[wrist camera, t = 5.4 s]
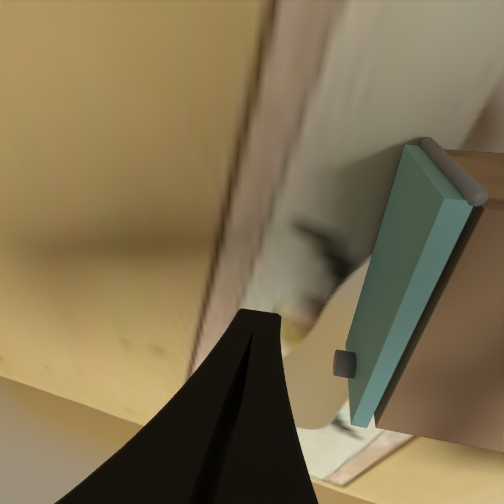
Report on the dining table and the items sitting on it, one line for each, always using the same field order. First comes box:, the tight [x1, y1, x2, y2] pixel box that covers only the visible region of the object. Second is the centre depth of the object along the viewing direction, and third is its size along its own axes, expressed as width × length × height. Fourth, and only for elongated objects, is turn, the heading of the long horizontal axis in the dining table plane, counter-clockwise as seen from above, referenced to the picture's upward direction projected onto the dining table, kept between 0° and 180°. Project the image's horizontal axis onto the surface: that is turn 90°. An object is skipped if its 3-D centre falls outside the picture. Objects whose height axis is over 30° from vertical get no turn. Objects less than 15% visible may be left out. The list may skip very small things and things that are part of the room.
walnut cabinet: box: [374, 150, 504, 452], centre depth 14 cm, size 8×13×6 cm, turn 179°
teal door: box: [333, 137, 488, 428], centre depth 14 cm, size 2×13×5 cm, turn 179°
